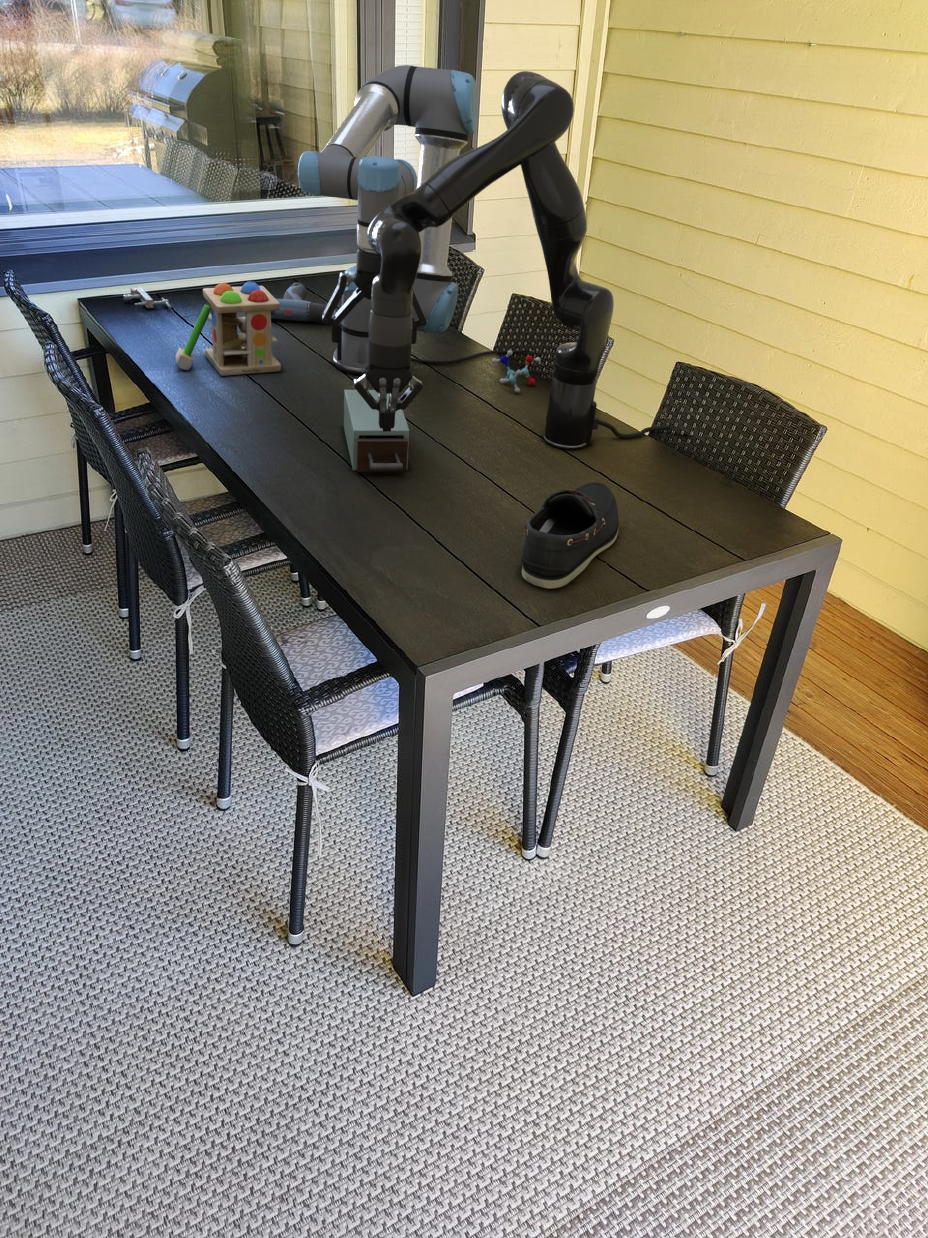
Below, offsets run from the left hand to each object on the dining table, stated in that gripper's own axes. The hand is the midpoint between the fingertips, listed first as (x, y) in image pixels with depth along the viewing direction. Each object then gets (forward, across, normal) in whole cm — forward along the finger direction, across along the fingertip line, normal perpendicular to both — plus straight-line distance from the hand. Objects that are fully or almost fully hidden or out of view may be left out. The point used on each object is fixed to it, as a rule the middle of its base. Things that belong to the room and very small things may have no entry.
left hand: (373, 358), depth 195 cm
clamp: (+16, -51, +84) cm, 100 cm away
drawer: (+15, 0, -13) cm, 20 cm away
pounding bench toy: (+16, -30, +40) cm, 52 cm away
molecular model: (+16, +37, +28) cm, 50 cm away
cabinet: (+16, 0, -6) cm, 18 cm away
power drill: (+16, -9, +80) cm, 82 cm away
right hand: (+5, 0, -22) cm, 23 cm away
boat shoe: (+16, +30, -47) cm, 58 cm away
